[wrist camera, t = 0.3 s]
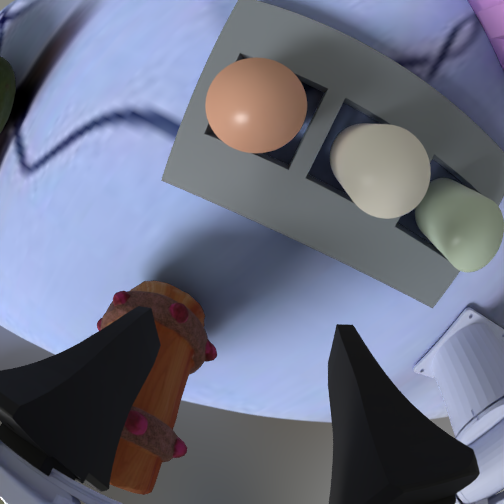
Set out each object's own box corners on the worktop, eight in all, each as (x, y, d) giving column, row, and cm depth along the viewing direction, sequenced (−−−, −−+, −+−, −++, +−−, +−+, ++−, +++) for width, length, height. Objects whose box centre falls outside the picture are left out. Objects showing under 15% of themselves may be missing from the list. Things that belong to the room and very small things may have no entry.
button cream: (409, 147, 14) (444, 157, 10) (377, 206, 15) (402, 233, 12) (349, 110, 13) (369, 106, 9) (317, 173, 15) (325, 191, 11)
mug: (148, 240, 18) (27, 461, 6) (246, 307, 20) (194, 526, 9) (98, 323, 26) (37, 447, 14) (163, 363, 28) (119, 488, 17)
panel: (500, 161, 14) (516, 166, 12) (423, 293, 19) (432, 308, 17) (246, 8, 13) (240, -4, 11) (174, 173, 18) (161, 180, 16)
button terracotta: (315, 92, 13) (323, 81, 9) (284, 157, 15) (281, 169, 11) (245, 64, 13) (228, 44, 9) (217, 128, 15) (191, 131, 11)
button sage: (475, 198, 14) (513, 222, 10) (445, 249, 16) (476, 283, 12) (434, 165, 14) (472, 181, 10) (403, 221, 15) (432, 252, 12)
